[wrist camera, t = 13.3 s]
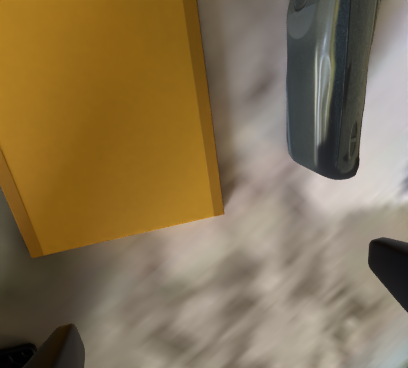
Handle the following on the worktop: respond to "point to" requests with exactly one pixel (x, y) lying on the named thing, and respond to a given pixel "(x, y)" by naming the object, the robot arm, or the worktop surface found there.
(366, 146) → the worktop surface
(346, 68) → the mobile phone
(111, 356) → the worktop surface
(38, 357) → the robot arm
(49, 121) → the yellow flat slab
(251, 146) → the worktop surface
